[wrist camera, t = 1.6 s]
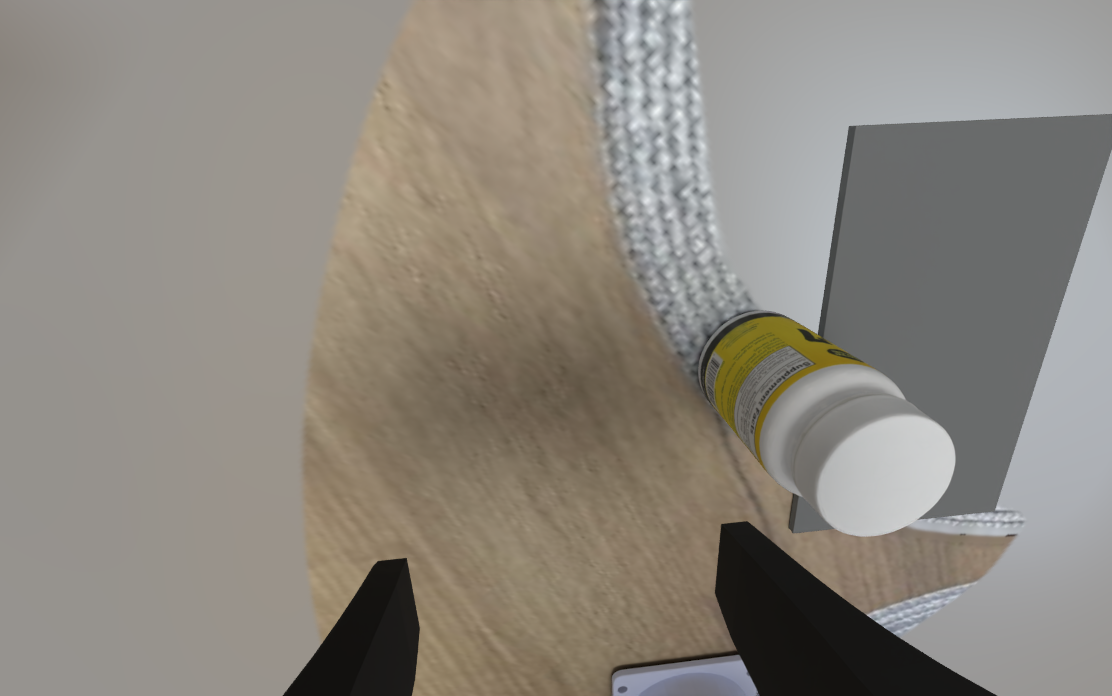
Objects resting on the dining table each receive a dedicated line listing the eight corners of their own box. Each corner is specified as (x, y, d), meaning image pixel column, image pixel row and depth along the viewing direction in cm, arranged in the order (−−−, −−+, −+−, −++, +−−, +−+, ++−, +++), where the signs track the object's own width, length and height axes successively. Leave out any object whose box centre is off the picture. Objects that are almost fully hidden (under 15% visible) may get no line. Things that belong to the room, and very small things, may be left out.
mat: (987, 505, 27) (994, 511, 26) (788, 527, 26) (792, 533, 25) (1111, 114, 20) (1123, 113, 20) (849, 126, 19) (856, 125, 19)
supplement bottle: (826, 358, 22) (1000, 474, 15) (740, 431, 23) (862, 576, 16) (760, 283, 21) (917, 368, 13) (672, 364, 22) (770, 489, 14)
